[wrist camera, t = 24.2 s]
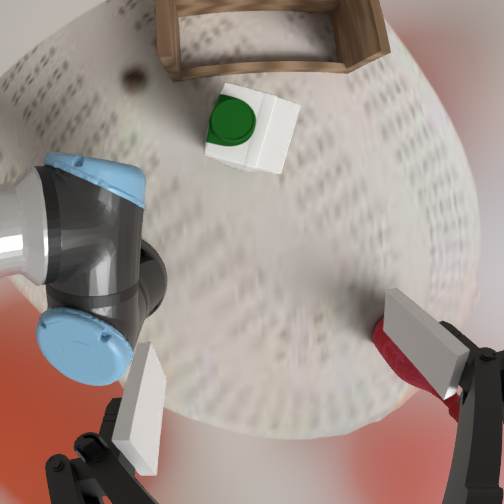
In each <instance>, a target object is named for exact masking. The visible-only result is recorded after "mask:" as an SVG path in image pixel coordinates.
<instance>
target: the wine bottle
mask: <svg viewBox="0 0 504 504" xmlns="http://www.w3.org/2000/svg"><path fill="white" fill-rule="evenodd" d="M383 326H384V317H383V318H382V319H381V320H380V321H379V322H378V323H377V325H376V326H375V328H374V331H373V342H374V344H375V346H376V348H377V349H378V351H379V352H380V354H381V355H382V356H383V358H384V359H385V360H386V362H387V363H388V365H389V366H390V367H391V368H392V370H393V371H394V372H395V373H396V374H397V375H398V376H399V377H400V378H401V379H402V380H404V381H405V382H407V383H409V384H411V385H413V386H415V387H418V388H420V389H423V390H426V391H428V392H430V393H432V394H433V395H435V396H436V397H438V398H439V399H440V400H441V401H443V403H444V404H445V405H446V406H447V407H448V408H449V414H450V415H451V416H452V417H453V418H454V419H455V420H456V421H457V423H458V420H459V411H460V403H459V405H458V404H457V402H458V400H459V396H458V394H457V393H455V394H454V395H452V396H450V397H448V398H447V399H445V400H443V399H442V397H441V396H440V395H439V394H438V393H437V391H436V390H435V389H434V388H433V387H432V386H431V384H430V383H429V382H428V381H427V380H426V378H425V377H424V376H423V375H422V374H421V373H420V371H419V370H418V369H417V368H416V367H415V366H414V365H413V363H412V362H411V361H410V360H409V359H408V358H407V357H406V355H405V354H404V353H403V352H402V351H401V350H400V349H399V347H398V346H397V345H396V344H395V343H394V342H393V341H392V340H391V338H390V337H389V336H388V335H387V334H386V333H385V332H384V331H383Z"/></svg>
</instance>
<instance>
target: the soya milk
mask: <svg viewBox="0 0 504 504" xmlns="http://www.w3.org/2000/svg"><path fill="white" fill-rule="evenodd" d="M300 106H301V105H299V104H297V103H294V102H291V101H288V100H285V99H281V98H278V97H277V96H276V95H273V94H270V93H266V92H261V91H258V90H254V89H251V88H247V87H243V86H239V85H234V84H230V83H224V85H223V87H222V90H221V92H220V95H219V97H218V99H217V102H216V105H215V107H214V109H213V111H212V113H211V116H210V119H209V125H208V130H207V134H206V141H205V148H204V154H205V155H206V156H208V157H211V158H213V159H215V160H217V161H219V162H221V163H223V164H226V165H228V166H231V167H234V168H237V169H240V170H243V171H247V172H252V171H256V172H266V173H273V174H281V172H282V168H283V165H284V161H285V158H286V154H287V151H288V147H289V144H290V141H291V137H292V134H293V130H294V127H295V123H296V120H297V116H298V113H299V109H300Z"/></svg>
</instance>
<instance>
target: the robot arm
mask: <svg viewBox="0 0 504 504" xmlns="http://www.w3.org/2000/svg"><path fill="white" fill-rule="evenodd" d="M44 165H45V166H35V167H28V168H27V169H26V170H25V171H24V172H23V173H22V174H21V175H20V177H19V178H18V179H17V180H16V181H15V182H14V183H12V184H3V185H0V278H1V277H6V276H11V275H15V274H21V275H23V276H25V277H26V278H27V279H28V280H30V281H31V282H32V283H34V284H35V285H37V286H39V285H44V284H46V295H47V303H48V307H47V311H45V312H44V313H42V315H41V317H40V318H39V322H38V324H37V329H36V337H37V342H38V345H39V347H40V349H41V351H42V353H43V355H44V356H45V357H46V359H47V360H48V361H49V362H50V363H51V364H52V366H54V367H55V368H57V369H58V370H59V371H60V372H61V373H62V374H64V375H65V376H67V377H69V378H71V379H73V380H75V381H77V382H80V383H84V384H88V385H95V386H101V385H108V384H111V383H113V382H115V381H117V380H119V379H120V378H121V377H122V376H123V375H124V373H125V372H126V370H127V367H128V365H130V363H131V362H132V358H133V351H134V348H135V345H136V343H137V340H138V337H139V334H140V331H141V328H142V325H143V322H144V320H145V319H146V318H147V317H149V316H150V315H152V314H153V313H154V312H155V311H156V310H157V309H158V308H159V306H160V305H161V303H162V301H163V299H164V296H165V292H166V289H167V272H166V268H165V266H164V263H163V261H162V259H161V257H160V256H159V254H158V253H157V252H156V251H155V250H154V249H153V248H152V247H151V246H150V245H149V244H147V243H146V242H144V241H143V240H141V234H142V222H143V211H144V210H145V209H146V205H145V204H144V200H145V186H146V179H145V175H144V174H143V172H142V170H141V169H139V168H138V167H136V166H133V165H129V164H124V163H119V162H114V161H109V160H103V159H97V158H91V157H84V156H79V155H72V154H67V153H60V152H52V151H51V152H48V153H47V155H46V158H45V159H44ZM383 331H384V332H385V333H386V334H387V335H388V336H389V337H390V338H391V340H392V341H393V342H394V343H395V344H396V345H397V346H398V347H399V349H400V350H401V351H402V352H403V353H404V354H405V355H406V357H407V358H408V359H409V360H410V361H411V362H412V363H413V365H414V366H415V367H416V368H417V369H418V370H419V371H420V373H421V374H422V375H423V376H424V377H425V378H426V380H427V381H428V382H429V383H430V384H431V386H432V387H433V388H434V389H435V390H436V391H437V393H438V394H439V395H440V396H441V397H442V399H443V400H445V399H447V398H448V397H450V396H452V395H454V394H455V393H456V391H457V388H458V385H459V386H460V387H461V388H462V392H461V395H460V397H459V400H458V402H457V404H458V405H459V403H460V411H459V420H458V428H457V435H456V442H455V448H454V454H453V459H452V464H451V470H450V474H449V479H448V483H447V487H446V491H445V495H444V499H443V502H442V504H502V500H503V489H502V488H500V487H499V475H500V466H501V453H502V420H503V423H504V350H503V351H500V352H496V351H495V350H493V349H491V348H487V347H484V348H478V347H477V346H476V345H475V344H474V343H473V342H472V341H470V340H469V339H468V338H467V337H466V336H465V335H462V333H461V332H460V331H459V330H457V329H456V328H455V327H454V326H453V325H452V324H449V323H447V322H445V321H441V322H437V321H436V320H435V319H434V318H433V317H431V316H430V315H429V314H428V313H427V312H426V311H424V310H423V309H422V308H421V307H420V306H418V305H417V304H416V303H415V302H413V301H412V300H411V299H410V298H409V297H407V296H406V295H405V294H404V293H402V292H401V291H400V290H399V289H397V288H393V289H390V290H387V291H385V311H384V326H383ZM166 382H167V379H166V377H165V374H164V372H163V370H162V367H161V365H160V363H159V360H158V358H157V355H156V353H155V351H154V348H153V346H152V343H151V342H147V343H140V344H138V345H137V349H136V352H135V355H134V358H133V362H132V365H131V368H130V372H129V375H128V379H127V382H126V386H125V390H124V393H123V397H122V398H113V399H112V400H111V401H110V403H109V404H108V405H107V407H106V411H105V416H104V418H103V422H102V424H101V428H100V431H99V435H98V434H97V433H93V432H88V433H85V434H82V435H81V436H80V437H78V438H77V440H76V441H75V443H74V450H75V452H76V453H77V454H78V455H79V457H80V458H76V459H72V460H69V459H68V458H67V457H66V456H65V455H62V454H56V455H53V456H51V457H50V458H49V460H47V462H46V467H45V470H46V477H47V483H48V489H49V494H50V499H51V504H104V502H103V499H102V496H107V497H108V498H109V499H110V501H111V502H112V504H159V503H158V502H157V501H156V500H155V499H154V498H153V497H152V496H151V495H150V494H149V493H148V492H147V490H146V489H145V488H144V487H143V486H142V485H141V484H140V483H139V481H138V480H137V479H136V478H135V477H134V474H135V470H136V471H137V472H138V473H139V474H140V475H157V465H158V454H159V442H160V432H161V423H162V414H163V405H164V397H165V389H166Z"/></svg>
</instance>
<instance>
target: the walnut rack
mask: <svg viewBox="0 0 504 504" xmlns="http://www.w3.org/2000/svg"><path fill="white" fill-rule="evenodd" d="M261 10H275V11H302V12H316V13H327V14H330V17H331V22H332V27H333V32H334V38H335V44H336V50H337V56H338V63H334V62H314V61H264V62H244V63H231V64H220V65H210V66H202V67H194V68H187V69H182V66H181V53H180V38H179V21H178V17H184V16H191V15H199V14H208V13H219V12H233V11H261ZM156 38H157V55H158V57H159V58H160V60H161V62H162V64H163V65H164V67H165V69H166V70H167V72H168V74H169V76H170V77H171V79H172V81H173V82H175V81H181V80H188V79H195V78H203V77H211V76H220V75H231V74H243V73H260V72H330V73H347V74H348V73H350V72H352V71H354V70H356V69H358V68H360V67H362V66H364V65H366V64H368V63H370V62H372V61H374V60H376V59H378V58H380V57H382V56H384V55H387V54H389V53H391V51H390V46H389V41H388V36H387V31H386V27H385V22H384V18H383V14H382V10H381V6H380V3H379V0H156Z"/></svg>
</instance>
